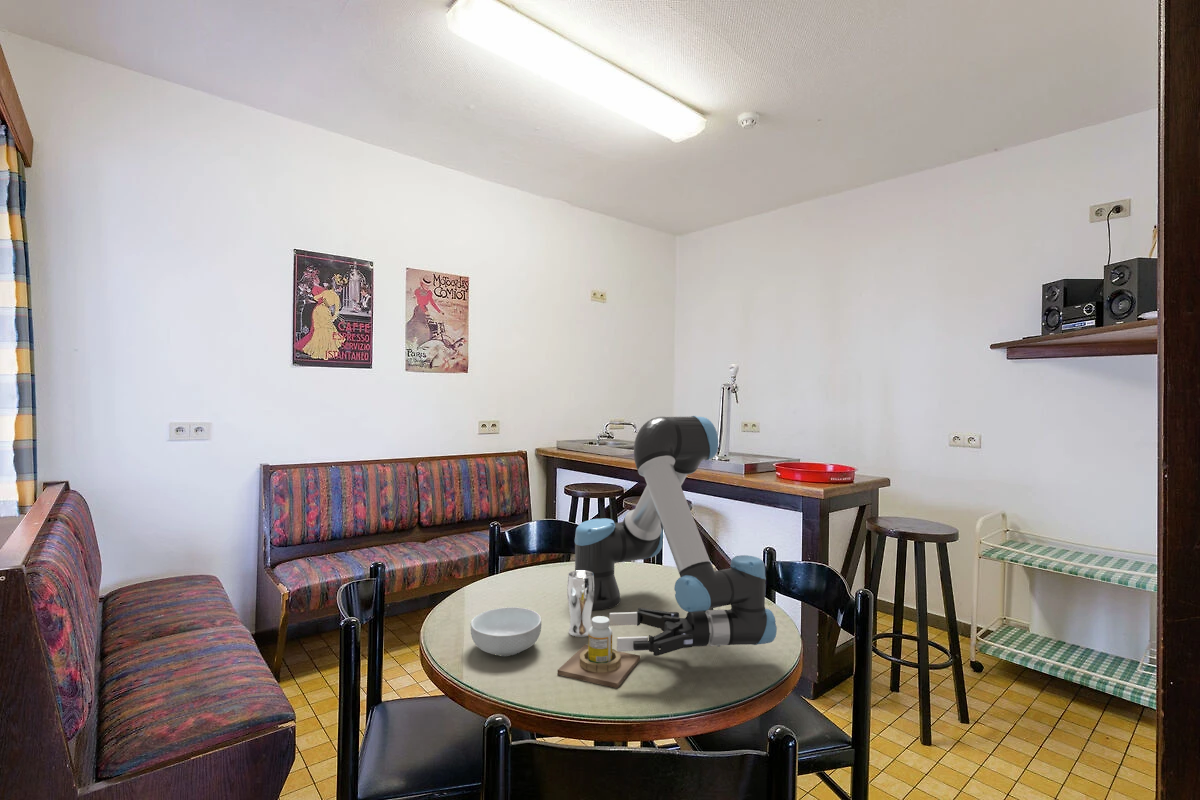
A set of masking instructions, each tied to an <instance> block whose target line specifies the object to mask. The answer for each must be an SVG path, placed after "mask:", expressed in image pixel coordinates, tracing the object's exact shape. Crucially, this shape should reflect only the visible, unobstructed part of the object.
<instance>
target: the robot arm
mask: <svg viewBox="0 0 1200 800" xmlns="http://www.w3.org/2000/svg"><path fill="white" fill-rule="evenodd" d="M718 449H719V437H718V432H717V429H716V427H715V425H714V424H713V422H712V421H711V420H710V419H709V418H707V417H704V416H696V415H691V416H656V417H653V418H651V419H649V420H647V421H646V422H645V423H643V425H641V427H640V428H639V430H638V432H637V434H636V437H635V440H634V443H633V458H634V463H635V464H634V465H635V468H636V470H637V473H638V474H639V476H641V477H643V478H644V480H645V483H646V486H645V488H644V490H643V492H642V494H641V496H640V498H639V499H638V502H637V504H636V506H635V508H634V509H631V510H629V511H628V512H627V513H626V514H625V517H624V519H623V520H622V521H620V522H615V520H613V519H611V518H606V517H605V518H593V519H589V520H585V521H583V522H581V523H579V524H578V525H577V527H576V528H575V535H574V536H575V537H574V571H576V570H586V571H590V572H593V573H594V588H595V591H594V602H593V607H592V611H595V610H596V611H599V610H606V609H607V610H608V609H611V608H614V607H617V606H618V605H619V604H620V603H621V602H620V601H621V593H620V589H619V584H618V583H617V579H616V576H615V564H617V563H618V564H619V563H625V562H626V563H627V562H631V561H633V562H634V561H639V560H641V561H642V560H649V558H654V557H656V556H657V555H658V554H659V553H661V552H660V551H661V550H662V548H663V545H664V541H663V539H664V535H665V538H666V540H667V543H668V546H669V549H670V553H671V554H672V558H673V560H674V563H675V565H676V569H677V571H678V575H679V576H680V577H679V578H677V580H676V581H675V583H674V592H675V593H674V596H675V601H676V602H677V604H678V606H679V607H680V608H681V610H683V611H684V612H686V616H685V617H684V618H682V617H680V612H679V611H665V610H664V611H663V610H658V609H653V608H652V609H651V608H645V607H638V609H637V610H636V611H631V612H629V611H627V612H625V611H624V612H609V623H610V625H609V627H610V626H640V625H641V624H642V625H644V626H645V625H646V626H650V627H653V628H657V629H660V630H661V631H662V632H660V633H658V634H655V635H654V636H653V635H647V636H646V635H645V636H644V635H643V636H641V635H640V636H639V635H637V636H616V651H620V652H636V651H637V652H638V651H640V652H641V651H648V652H650V653H653V656H657V657H659V656H661V655H665V654H668V653H672V652H676V651H678V650H681V649H688V648H693V647H695V648H696V647H707V646H708V645H709V646H710V647H711V646H712V647H713V646H716V647H717V648H720V647H721V646H735V645H736V646H739V645H740V646H742V645H744V646H745V645H748V646H749V645H752V646H757V645H765V644H770V643H772V642H774V641H775V640H776V637H777V629H778V627H777V625H776V624H777V623H776V621H777V620H776V617H775V614H774V613H773V611H772V610H771V609H769V608H766V605H765V604H766V603H765V602H766V600H765V599H766V580H767V577H766V567H765V566H766V565H765V563H764V561H763V560H762V558H759V557H757V556H752V555H747V554H746V555H745V554H744V555H736V556H734V557H733V558H731V561H730V567H729V568H725V569H724V568H723V569H719V570H715V571H714V569H713V567H712V565H713V564H712V561H711V560H710V557H709V555H708V552H707V549H706V546H705V545H704V542H703V540H702V536H701V534H700V532H699V529H698V527H697V524H696V522H695V521H696V520H695V519H694V516H693V514H692V511H691V509H690V506H689V503H688V501H687V498H686V496H685V493H684V491H683V489H682V486H683V484H684V482H685V479H687V476H688V475H692V474H693V473H695V472H697V470H698V468H699V466H700V465H701V464H702V461H709V460H712V459H713V458H715V456H716V455H717V454H718V453H717V452H718ZM711 564H712V565H711ZM725 606H730V607H731V608H730V609H716V608H720V607H725ZM712 608H713V610H708V609H712ZM706 610H707V611H706ZM704 611H706V612H704Z"/></svg>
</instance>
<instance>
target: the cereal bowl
mask: <svg viewBox="0 0 1200 800" xmlns="http://www.w3.org/2000/svg"><path fill="white" fill-rule="evenodd" d="M541 632H542V617H541V615H540V614H539V613H538V612H537V611H535V610H532V609H530V608H526V607H520V606H519V607H517V606H507V607H505V606H504V607H499V608H492V609H489V610H485V611H483V612H480V613H478V614H477V615H475V616H474V617H472V619H471V621H470V635H471V639H472V641H473V643H474V644H475V646H476V647H477V648H478V649H479V650H481V651H483V652H485V653H488V654H491V655H494V654H496V655H495V656H497V655H501V656H500V657H510V655H512V656H515V655H518V654H520V653H521V652H524V651H525V650H528V649H529V648H531V647H532V646H533V645H534V644H535V643H536V642H537V641H538V639H539V637H540V635H541ZM517 653H518V654H517Z"/></svg>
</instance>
